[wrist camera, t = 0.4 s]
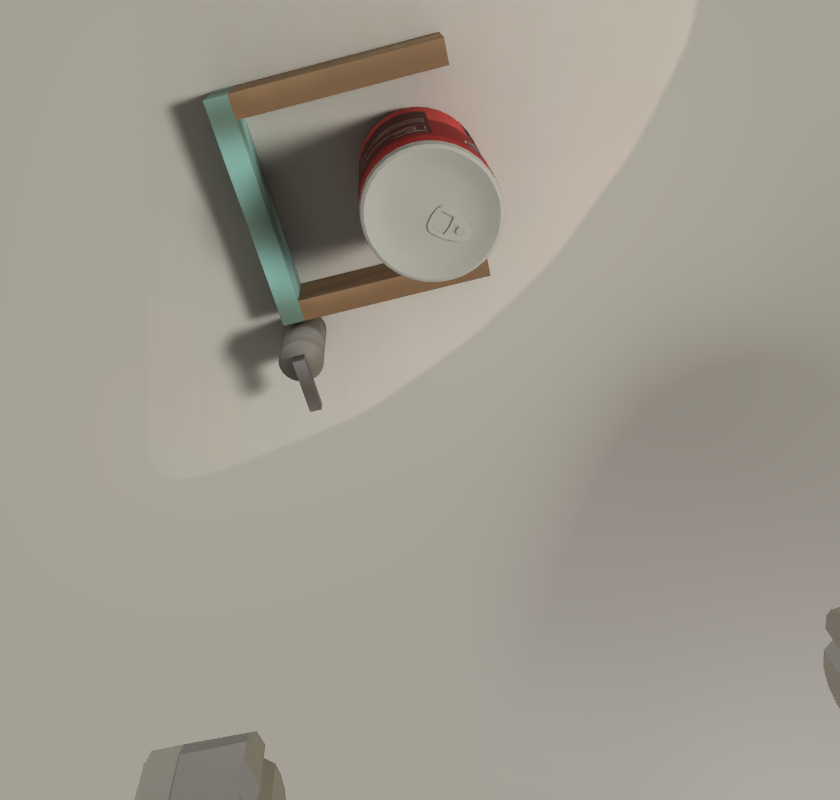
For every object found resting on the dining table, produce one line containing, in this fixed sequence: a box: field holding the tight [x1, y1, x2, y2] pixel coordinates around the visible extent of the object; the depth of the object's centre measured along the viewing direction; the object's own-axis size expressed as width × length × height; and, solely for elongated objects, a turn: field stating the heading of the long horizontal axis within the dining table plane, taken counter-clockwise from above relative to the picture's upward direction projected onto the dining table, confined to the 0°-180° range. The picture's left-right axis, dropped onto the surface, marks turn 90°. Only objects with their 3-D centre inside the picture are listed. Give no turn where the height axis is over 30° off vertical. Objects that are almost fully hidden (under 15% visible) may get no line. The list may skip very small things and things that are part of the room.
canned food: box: [359, 107, 504, 282], centre depth 46 cm, size 8×8×11 cm
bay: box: [203, 32, 490, 412], centre depth 50 cm, size 20×15×6 cm
